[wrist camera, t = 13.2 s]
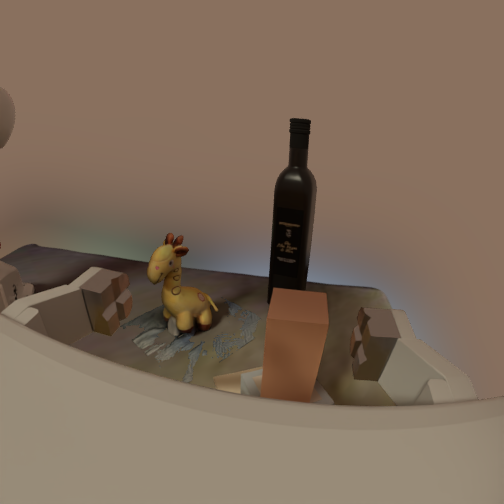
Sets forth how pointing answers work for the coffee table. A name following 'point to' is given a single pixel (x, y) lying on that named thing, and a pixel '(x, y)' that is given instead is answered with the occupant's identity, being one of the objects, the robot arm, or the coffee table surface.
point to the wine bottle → (293, 215)
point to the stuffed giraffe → (182, 310)
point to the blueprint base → (251, 385)
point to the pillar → (293, 344)
